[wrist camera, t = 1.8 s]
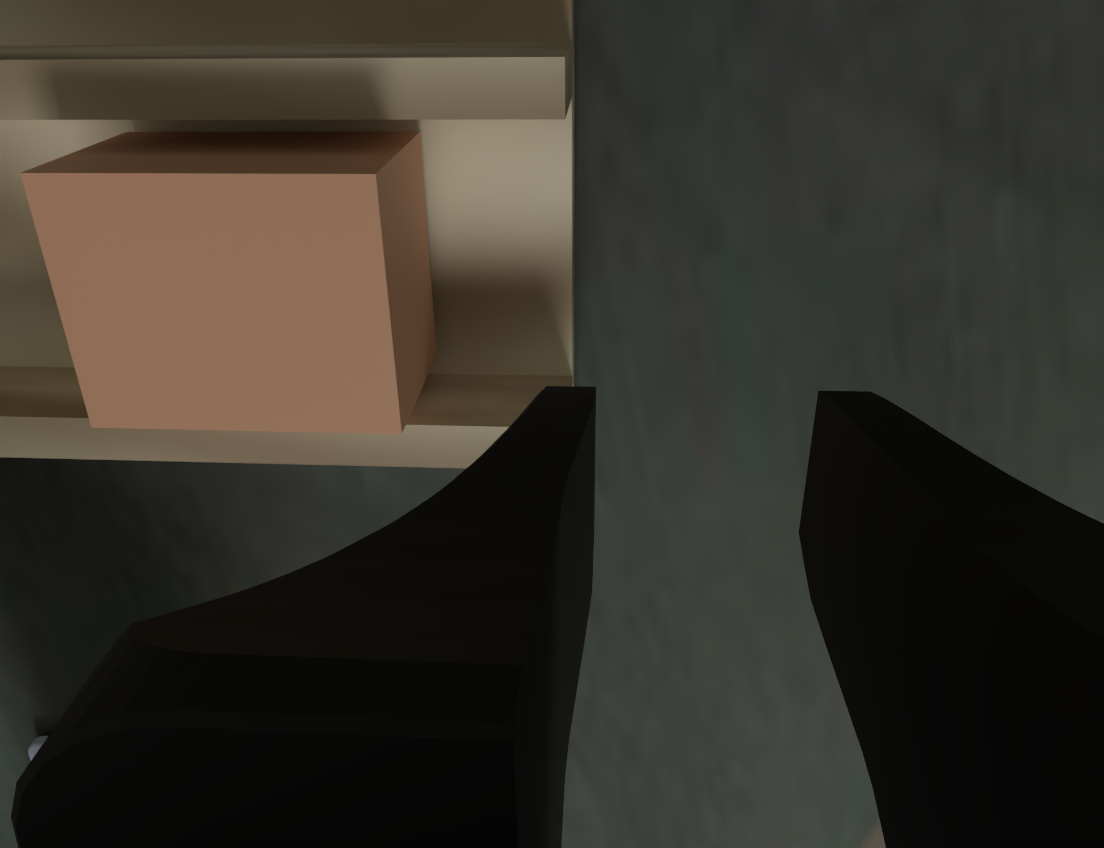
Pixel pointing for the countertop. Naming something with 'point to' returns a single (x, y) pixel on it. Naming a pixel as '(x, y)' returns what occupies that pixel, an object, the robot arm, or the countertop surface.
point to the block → (242, 278)
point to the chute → (312, 106)
